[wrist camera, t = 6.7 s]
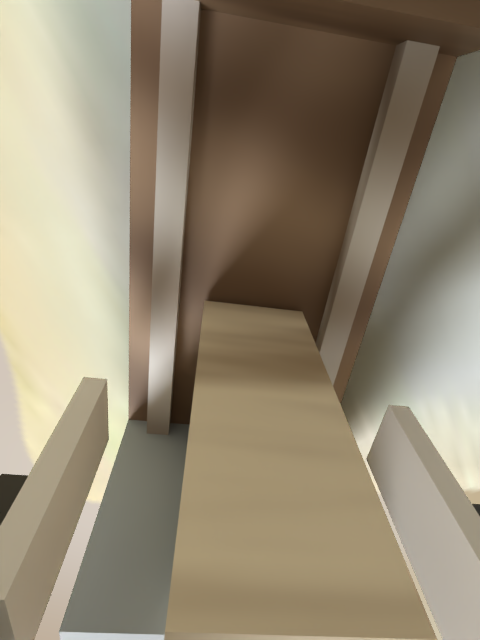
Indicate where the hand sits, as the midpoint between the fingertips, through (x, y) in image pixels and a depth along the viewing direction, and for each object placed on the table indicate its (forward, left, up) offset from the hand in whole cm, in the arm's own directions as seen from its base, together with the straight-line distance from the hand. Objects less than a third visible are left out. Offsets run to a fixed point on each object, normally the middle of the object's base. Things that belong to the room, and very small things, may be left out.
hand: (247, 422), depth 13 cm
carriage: (0, 0, -3) cm, 3 cm away
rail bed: (-4, 0, -5) cm, 7 cm away
